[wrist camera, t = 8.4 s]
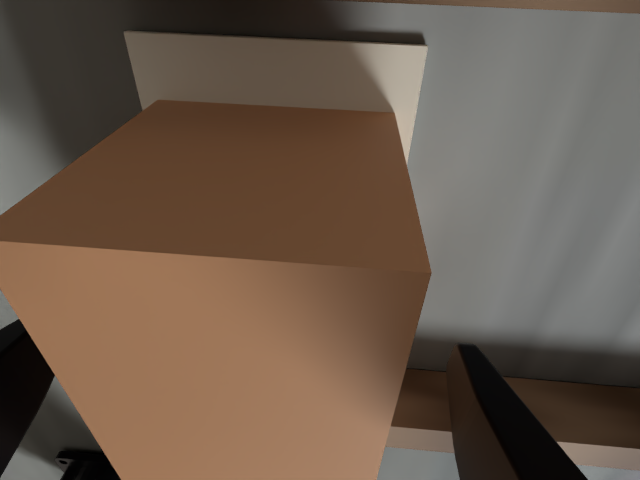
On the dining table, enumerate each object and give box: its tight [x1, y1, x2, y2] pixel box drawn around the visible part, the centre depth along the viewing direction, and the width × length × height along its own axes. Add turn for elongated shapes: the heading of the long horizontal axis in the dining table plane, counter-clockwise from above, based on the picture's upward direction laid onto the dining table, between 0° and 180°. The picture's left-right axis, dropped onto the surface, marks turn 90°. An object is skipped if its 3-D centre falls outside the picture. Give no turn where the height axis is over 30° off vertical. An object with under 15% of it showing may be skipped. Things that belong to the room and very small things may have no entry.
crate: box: [0, 100, 431, 480], centre depth 10 cm, size 6×8×6 cm
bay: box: [123, 0, 640, 470], centre depth 10 cm, size 21×16×4 cm
